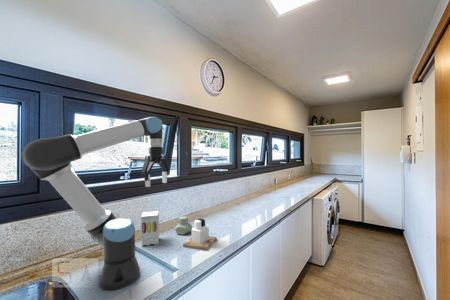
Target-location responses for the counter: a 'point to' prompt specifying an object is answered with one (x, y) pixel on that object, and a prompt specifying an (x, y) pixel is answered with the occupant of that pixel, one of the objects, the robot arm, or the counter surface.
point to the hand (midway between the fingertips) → (156, 184)
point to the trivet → (200, 246)
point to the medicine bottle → (200, 232)
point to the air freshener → (183, 226)
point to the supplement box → (150, 228)
